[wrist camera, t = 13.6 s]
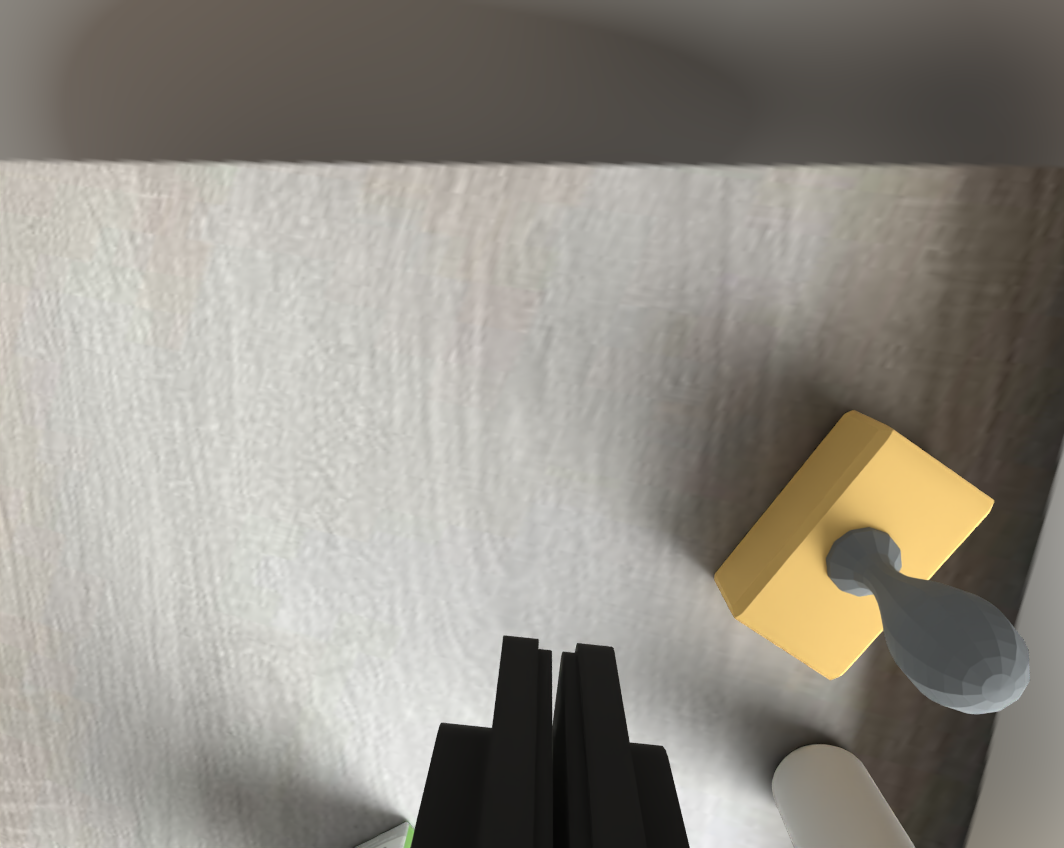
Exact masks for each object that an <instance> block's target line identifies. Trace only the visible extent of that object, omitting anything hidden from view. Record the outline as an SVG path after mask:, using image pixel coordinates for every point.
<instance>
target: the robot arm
mask: <svg viewBox="0 0 1064 848" xmlns="http://www.w3.org/2000/svg"><path fill="white" fill-rule="evenodd" d="M538 646H539V640H538V639H533V638H524V637H514V636H503V643H502V652H501V660H500V668H499V676H498V684H497V692H496V701H495V709H494V717H493V725H492V728H487V727H478V726H468V725H459V724H449V723H441V724H440V726H439V730H438V733H437V737H436V742H435V746H434V750H433V754H432V758H431V763H430V767H429V771H428V775H427V779H426V784H425V788H424V792H423V796H422V801H421V805H420V809H419V813H418V817H417V822H416V826H415V830H414V834H413V839H412V843H411V847H410V848H690V847H689V843H688V839H687V834H686V830H685V826H684V822H683V818H682V814H681V809H680V805H679V801H678V797H677V793H676V789H675V784H674V780H673V776H672V772H671V768H670V763H669V759H668V756H667V753H666V750H665V749H664V747H663V746H658V745H649V744H639V743H630V742H629V736H628V730H627V724H626V718H625V712H624V706H623V700H622V694H621V688H620V682H619V676H618V670H617V664H616V658H615V652H614V648H613V647H609V646H600V645H590V644H581V643H577V645H576V649H575V653H571V652H562V656H561V663H560V671H559V679H558V687H557V694H556V702H555V710H554V718H553V726H552V651H551V650H543V649H538Z"/></svg>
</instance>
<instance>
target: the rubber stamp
mask: <svg viewBox="0 0 1064 848" xmlns="http://www.w3.org/2000/svg"><path fill="white" fill-rule="evenodd" d="M993 503H994V500H993V499H991V498H990V497H989V496H987V495H986V494H984V493H983V492H982V491H980V490H979V489H977V488H976V487H974V486H973V485H972V484H970V483H969V482H967V481H966V480H964V479H963V478H962V477H960V476H959V475H957V474H956V473H955V472H953V471H952V470H950V469H949V468H947V467H946V466H945V465H943V464H942V463H940V462H939V461H937V460H936V459H935V458H933V457H932V456H930V455H929V454H928V453H926V452H925V451H923V450H922V449H920V448H919V447H918V446H916V445H915V444H913V443H912V442H910V441H909V440H908V439H906V438H905V437H903V436H902V435H901V434H899V433H898V432H896V431H895V430H893V429H892V428H891V427H889V426H888V425H885V424H883V423H881V422H879V421H877V420H875V419H872V418H870V417H868V416H866V415H864V414H861V413H859V412H857V411H855V410H852V411H850V412H847V413H845V414H844V415H843V416H842V417H841V419H840V420H839V421H838V422H837V424H836V425H835V426H834V427H833V429H832V430H831V431H830V432H829V434H828V435H827V436H826V437H825V438H824V440H823V441H822V442H821V443H820V445H819V446H818V447H817V448H816V450H815V451H814V452H813V453H812V454H811V456H810V457H809V458H808V459H807V461H806V462H805V463H804V464H803V466H802V467H801V468H800V469H799V471H798V472H797V473H796V474H795V475H794V477H793V478H792V479H791V480H790V482H789V483H788V484H787V485H786V487H785V488H784V489H783V490H782V491H781V493H780V494H779V495H778V496H777V498H776V499H775V500H774V501H773V503H772V504H771V505H770V506H769V508H768V509H767V510H766V511H765V512H764V514H763V515H762V516H761V517H760V519H759V520H758V521H757V522H756V524H755V525H754V526H753V527H752V528H751V530H750V531H749V532H748V533H747V535H746V536H745V537H744V538H743V540H742V541H741V542H740V543H739V545H738V546H737V547H736V548H735V549H734V551H733V552H732V553H731V554H730V556H729V557H728V558H727V559H726V561H725V562H724V563H723V564H722V565H721V567H720V568H719V569H718V570H717V572H716V573H715V576H714V580H715V582H716V584H717V586H718V588H719V590H720V592H721V594H722V596H723V598H724V600H725V602H726V603H727V605H728V607H729V609H730V611H731V613H732V615H733V617H734V618H735V619H736V620H738V621H739V622H741V623H743V624H744V625H746V626H747V627H749V628H750V629H752V630H753V631H755V632H756V633H758V634H760V635H761V636H763V637H764V638H766V639H767V640H769V641H770V642H772V643H773V644H775V645H777V646H778V647H780V648H781V649H783V650H784V651H786V652H787V653H789V654H790V655H792V656H794V657H795V658H797V659H798V660H800V661H801V662H803V663H804V664H806V665H807V666H809V667H811V668H812V669H814V670H815V671H817V672H818V673H820V674H821V675H823V676H825V677H826V678H828V679H829V680H832V679H835V678H837V677H839V676H841V675H843V674H844V673H845V672H846V671H847V669H848V668H849V667H850V666H851V665H852V664H853V663H854V662H855V661H856V660H857V658H858V657H859V656H860V655H861V654H862V653H863V652H864V651H865V650H866V648H867V647H868V646H869V645H870V644H871V643H872V642H873V641H874V640H875V638H876V637H877V636H878V635H879V634H880V633H881V632H882V631H883V630H884V635H885V639H886V643H887V646H888V648H889V651H890V653H891V655H892V657H893V659H894V660H895V662H896V664H897V665H898V666H899V667H900V668H901V670H902V671H903V672H904V673H905V674H906V675H907V677H908V678H909V679H910V680H911V681H912V683H913V684H914V685H915V686H916V687H917V688H918V689H919V691H920V692H921V693H923V694H924V695H925V696H927V697H928V698H929V699H930V700H932V701H934V702H937V703H939V704H941V705H943V706H946V707H949V708H952V709H955V710H958V711H961V712H965V713H969V714H983V713H990V712H997V711H1000V710H1002V709H1003V708H1005V707H1007V706H1008V705H1010V704H1011V703H1013V702H1015V701H1016V700H1018V699H1019V698H1020V696H1021V694H1022V693H1023V691H1024V689H1025V687H1026V686H1027V684H1028V683H1029V681H1030V670H1029V650H1028V648H1027V646H1026V644H1025V642H1024V639H1023V638H1022V637H1021V636H1020V635H1019V633H1018V632H1017V631H1016V629H1015V628H1014V627H1013V626H1012V624H1011V623H1010V622H1009V620H1008V619H1007V618H1006V617H1005V616H1004V615H1003V614H1002V612H1001V611H1000V610H999V609H998V608H996V607H995V606H994V605H992V604H991V603H990V602H988V601H986V600H985V599H983V598H981V597H979V596H977V595H974V594H971V593H969V592H966V591H963V590H960V589H957V588H954V587H951V586H948V585H945V584H942V583H938V582H935V581H929V579H930V578H931V577H932V575H933V574H934V573H935V572H936V571H937V570H938V569H939V568H940V567H941V565H942V564H943V563H944V562H945V561H946V560H947V559H948V558H949V557H950V556H951V554H952V553H953V552H954V551H955V550H956V549H957V548H958V547H959V546H960V544H961V543H962V542H963V541H964V540H965V539H966V538H967V537H968V536H969V535H970V533H971V532H972V531H973V530H974V529H975V528H976V527H977V526H978V525H979V523H980V522H981V521H982V520H983V519H984V518H985V517H986V516H987V515H988V514H989V512H990V510H991V508H992V505H993Z"/></svg>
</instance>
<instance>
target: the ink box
mask: <svg viewBox="0 0 1064 848" xmlns="http://www.w3.org/2000/svg"><path fill="white" fill-rule="evenodd" d="M413 834H414V828H413V827H412V826H411V825H410V824H409V823H408V822H404V823H403V824H401V825H399V826H397V827H395V828H393V829H391V830H389V831H387V832H385V833H383V834H381V835H379V836H377V837H375V838H373V839H371V840H369V841H367V842H365V843H363V844H361V845H359V846H357V847H355V848H410V847H411V843H412V839H413Z"/></svg>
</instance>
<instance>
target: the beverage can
mask: <svg viewBox="0 0 1064 848" xmlns="http://www.w3.org/2000/svg"><path fill="white" fill-rule="evenodd" d="M772 794H773V797H774V800H775V803H776V805H777V808H778V810H779V812H780V815H781V817H782V820H783V822H784V824H785V827H786V829H787V832H788V834H789V836H790V839H791V841H792V844H793V846H794V848H915V846H914V845H913V843H912V842H911V840H910V838H909V837H908V835H907V834H906V832H905V830H904V829H903V827H902V826H901V824H900V822H899V821H898V819H897V818H896V816H895V815H894V813H893V811H892V810H891V808H890V807H889V805H888V803H887V802H886V800H885V799H884V797H883V795H882V794H881V792H880V791H879V789H878V787H877V786H876V784H875V783H874V781H873V779H872V778H871V776H870V775H869V773H868V772H867V770H866V768H865V767H864V765H863V764H862V762H861V761H860V760H859V759H858V758H857V757H856V756H854V755H853V754H852V753H850V752H848V751H846V750H844V749H842V748H840V747H835V746H831V745H826V744H812V745H808V746H803V747H801V748H798V749H796V750H794V751H792V752H791V753H790V754H789V755H787V756H786V757H785V758H784V759H783V760H782V762H781V763H780V764H779V766H778V767H777V769H776V771H775V774H774V777H773V780H772Z"/></svg>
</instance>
